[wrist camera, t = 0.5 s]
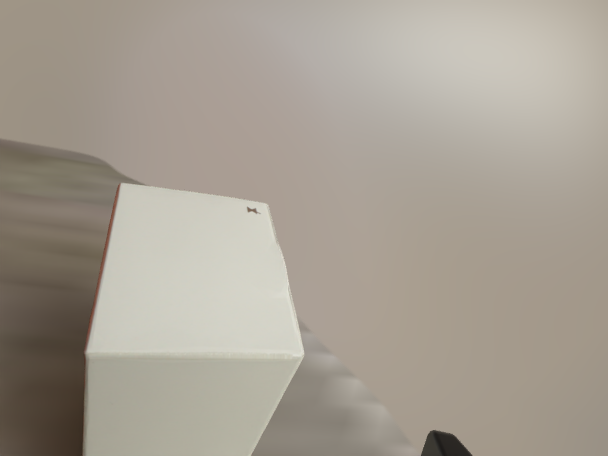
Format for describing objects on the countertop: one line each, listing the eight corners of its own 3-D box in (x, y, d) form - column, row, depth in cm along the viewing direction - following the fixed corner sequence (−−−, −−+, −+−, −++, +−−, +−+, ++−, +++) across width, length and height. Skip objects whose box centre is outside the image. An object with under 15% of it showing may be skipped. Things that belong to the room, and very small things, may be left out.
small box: (102, 367, 24) (118, 176, 16) (214, 366, 26) (271, 199, 19) (75, 535, 18) (79, 354, 10) (223, 515, 20) (312, 355, 13)
